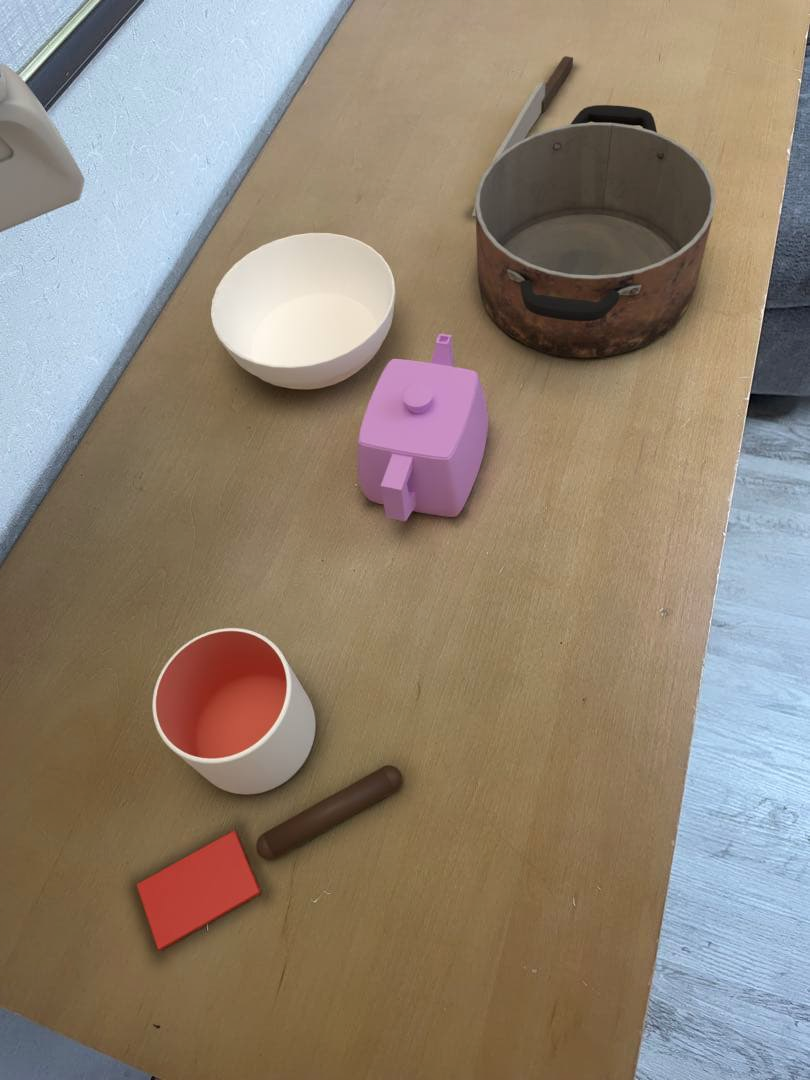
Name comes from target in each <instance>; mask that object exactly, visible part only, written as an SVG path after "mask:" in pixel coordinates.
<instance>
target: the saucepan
mask: <svg viewBox="0 0 810 1080" xmlns="http://www.w3.org/2000/svg"><path fill="white" fill-rule="evenodd" d="M655 121H656V120H655V118H654V115H653V114H652V113H651V112H650V111H648V110H646V109H643V108H639V107H634V106H626V105H613V104H611V105H610V104H598V105H597V104H595V105H590V106H586V107H584V108H582V109H581V110H580V111H579V112H578V114H576V116H575V117H574V119H573V120H572V121H571V123H570V124H567V125H562V126H557V127H552V128H548V129H546V130H543V131H540V132H537V133H533V134H531V135H529V136H526V137H525V139H523V140H521V141H519V142H517V143H516V144H514V145H513V146H511V147H510V148H508V149H507V150H506V151H504V152H503V153H501V154H500V155H499V156H498V157H497V158H496V159H495V160H494V161H493V160H492V161H493V162H492V161H491V163H490V164H489V165H488V167H487V169H486V170H485V171H484V173H483V174H482V175H481V177H480V179H479V180H480V181H479V182H478V185H477V188H476V192H475V202H474V207H475V212H476V216H475V231H476V233H475V234H476V235H475V237H476V257H477V258H476V260H477V280H478V288H479V294H480V298H481V299H480V300H481V301H482V304H483V306H484V308H485V310H486V312H487V314H488V315H489V316H490V317H491V319H492V320H493V321H494V323H495V324H496V325H497V326H498V327H499V328H500V329H501V330H503V331H504V332H505V333H506V334H508V335H509V336H510V337H512V338H514V339H516V340H517V341H519V342H521V343H522V344H524V345H526V346H528V347H530V348H533V349H536V350H539V351H540V352H542V353H547V354H550V355H551V354H552V355H556V356H561V357H566V358H577V359H579V358H580V359H589V358H590V359H592V358H604V357H610V356H615V355H620V354H625V353H627V352H630V351H633V350H635V349H638V348H641V347H644V346H647V345H648V344H649V343H652V342H654V341H655V340H657V339H658V338H660V337H663V336H664V335H665V334H666V333H668V331H669V330H671V329H672V328H673V327H674V326H676V324H677V323H678V322H679V321H680V320H681V318H682V317H683V316H684V315H685V313H686V312H687V310H688V308H689V305H690V303H691V301H692V299H693V297H694V294H695V291H696V288H697V283H698V279H699V275H700V272H701V266H702V262H703V259H704V255H705V250H706V247H707V242H708V238H709V234H710V231H711V225H712V221H713V218H714V213H715V207H716V201H717V197H716V190H715V183H714V182H713V179H712V177H711V174H710V172H709V170H708V169H707V168H706V166H705V165H704V163H703V162H702V161H701V160H700V158H699V157H698V156H697V155H695V154H694V153H693V152H692V151H691V150H690V149H688V148H687V147H686V146H685V145H683V144H681V143H680V142H677V141H676V140H675V139H673V138H671V137H669V136H666V135H664V134H661V133H659V132H658V131H657V125H656V122H655Z"/></svg>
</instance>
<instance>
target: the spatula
mask: <svg viewBox="0 0 810 1080" xmlns="http://www.w3.org/2000/svg"><path fill="white" fill-rule="evenodd" d="M402 782H403V775H402V772H401V771H400V769H399V768H398V767H397V766H394V765H391V764H389V765H388V764H387V765H384V766H381V767H380V768H378V769H376V770H374V771H373V772H371V773H369V774H367V775H365V776H364V777H361V778H360V779H358V780H356V781H355V782H353V783H351V784H349V785H347V786H346V787H343V788H342V789H340V790H339V791H337V792H335V793H333V794H331V795H329V796H327V797H326V798H324V799H322V800H320V801H318V802H317V803H315V804H314V805H312V806H310V807H308V808H307V809H305V810H303V811H301V812H299V813H297V814H296V815H294V816H292V817H290V818H288V819H287V820H285V821H283V822H281V823H279V824H278V825H276V826H274V827H272V828H271V829H270V828H269V830H267V831H265V832H263V833H262V834H260V836H259V837H258V839H257V840H256V844H255V849H256V853H257V854H258V856H259V857H260V858H261V859H263V860H265V861H273V860H276V859H277V858H279V857H281V856H282V855H284V854H286V853H288V852H290V851H291V850H293V849H295V848H297V847H298V846H301V845H302V844H305V842H308V841H309V840H311V839H313V838H315V837H316V836H318V835H320V834H323V832H325V831H327V830H329V829H331V828H332V827H334V826H336V825H338V824H339V823H341V822H343V821H344V820H347V819H349V818H350V817H352V816H354V815H355V814H357V813H359V812H360V811H363V810H364V809H366V808H368V807H370V806H371V805H373V804H374V803H377V802H378V801H380V800H382V799H383V798H385V797H387V796H389V795H391V794H392V793H395V792H396V791H397V790H399V788H400V787H401V785H402ZM136 887H137V890H138V893H139V897H140V900H141V902H142V905H143V908H144V911H145V914H146V917H147V920H148V924H149V927H150V930H151V933H152V936H153V939H154V942H155V945H156V948H157V950H158V951H162V950H164V949H166V948H168V947H170V946H172V945H173V944H175V943H176V942H178V941H181V939H184V938H186V937H187V936H189V935H191V934H192V933H194V932H196V931H197V930H200V929H201V928H203V927H205V926H206V925H208V924H210V923H212V922H214V921H215V920H217V919H219V918H221V917H222V916H224V915H226V914H227V913H229V912H231V911H233V910H235V909H236V908H238V907H240V906H242V905H244V904H245V903H247V902H248V901H250V900H252V899H254V898H256V897H258V896H259V895H260V894H262V892H261V889H260V886H259V884H258V881H257V879H256V877H255V874H254V871H253V869H252V866H251V864H250V861H249V859H248V856H247V854H246V852H245V850H244V846H243V844H242V842H241V839H240V836H239V834H238V832H237V831H236V830H232V831H230V832H229V833H226V834H224V835H223V836H221V837H220V838H218V839H215V840H214V841H212V842H210V843H209V844H207V845H205V846H203V847H202V848H200V849H198V850H196V851H194V852H192V853H190V854H189V855H187V856H185V857H183V858H181V859H180V860H178V861H176V862H174V863H173V864H170V865H169V866H166V867H165V868H163V869H162V870H160V871H158V872H156V873H154V874H153V875H151V876H149V877H147V878H146V879H144V880H142V881H140V882H138V883H136Z"/></svg>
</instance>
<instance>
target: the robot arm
mask: <svg viewBox="0 0 810 1080" xmlns="http://www.w3.org/2000/svg"><path fill="white" fill-rule="evenodd" d="M69 148H70V147H68V145H67V143H66V141H65V139H64V138H63V136H62V134H61V133H60V131H59V129H58V128H57V125H56V124H55V123H54V120H52V118H51V116H50V115H49V113H48V112H47V111H46V109H45V108H44V106H43V105H42V103H41V102H40V101H39V99H38V98H37V96H36V95H35V94H34V92H33V90H31V88H30V87H29V86H28V84H27V82H26V81H25V80H24V79H23V78H22V77H21V76H20V75H19V74H18V73H16V71H14V70H13V69H12V68H11V67H9V66H7V65H6V64H4V63H3V62H0V233H2V232H5V231H7V230H10V229H13V228H14V227H17V226H19V225H21V224H24V223H27V222H29V221H32V220H33V219H36V218H39V217H41V216H43V215H46V214H49V213H51V212H53V211H55V210H58V209H60V208H63V207H65V206H68V205H71V204H72V203H75V202H77V201H79V199H80V198H81V196H82V194H83V190H84V185H85V176H84V175H83V173H82V170H81V169H80V167H79V165H78V163H77V161H76V159H75V158H74V156H73V153H72V152H71V150H70V149H69Z"/></svg>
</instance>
